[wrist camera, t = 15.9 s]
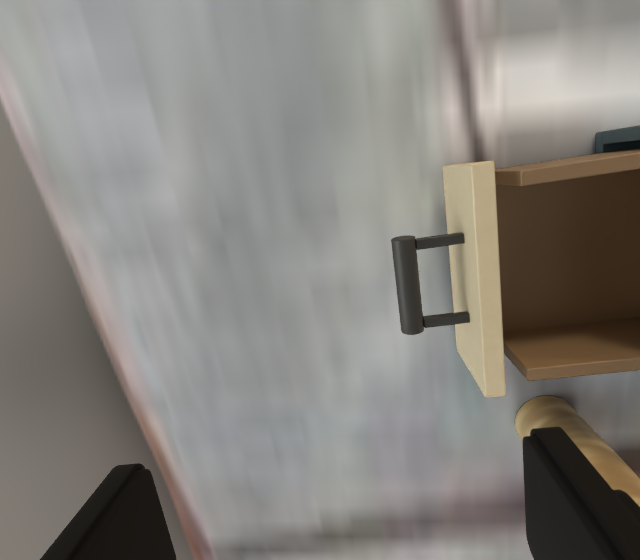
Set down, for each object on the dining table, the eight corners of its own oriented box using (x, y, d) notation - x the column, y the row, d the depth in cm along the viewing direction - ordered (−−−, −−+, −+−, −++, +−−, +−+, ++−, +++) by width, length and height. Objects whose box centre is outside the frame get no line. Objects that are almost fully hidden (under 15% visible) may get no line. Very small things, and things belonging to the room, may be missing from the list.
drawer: (400, 356, 31) (413, 405, 25) (379, 176, 28) (388, 176, 21) (650, 329, 29) (737, 374, 23) (658, 132, 26) (762, 118, 20)
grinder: (515, 448, 33) (614, 614, 21) (513, 398, 32) (616, 540, 20) (575, 444, 33) (713, 610, 20) (574, 392, 32) (720, 534, 19)
